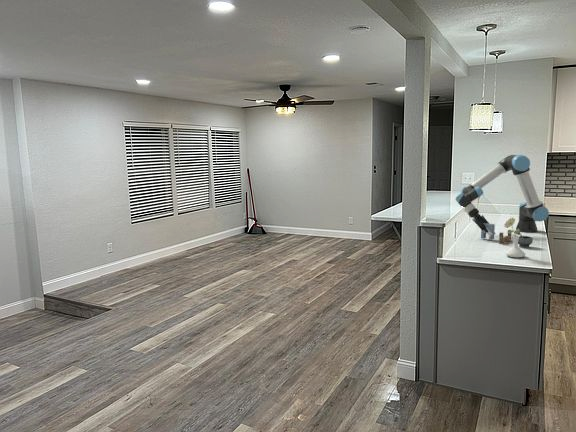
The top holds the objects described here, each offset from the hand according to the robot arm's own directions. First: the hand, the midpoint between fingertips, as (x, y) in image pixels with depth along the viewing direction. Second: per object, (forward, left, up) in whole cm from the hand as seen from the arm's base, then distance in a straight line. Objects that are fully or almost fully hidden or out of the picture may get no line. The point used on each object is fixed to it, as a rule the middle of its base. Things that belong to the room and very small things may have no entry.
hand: (492, 234), depth 319 cm
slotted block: (0, -4, -3) cm, 5 cm away
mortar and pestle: (+7, +24, -4) cm, 25 cm away
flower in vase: (+37, +31, -4) cm, 48 cm away
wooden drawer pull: (0, +9, -4) cm, 10 cm away
